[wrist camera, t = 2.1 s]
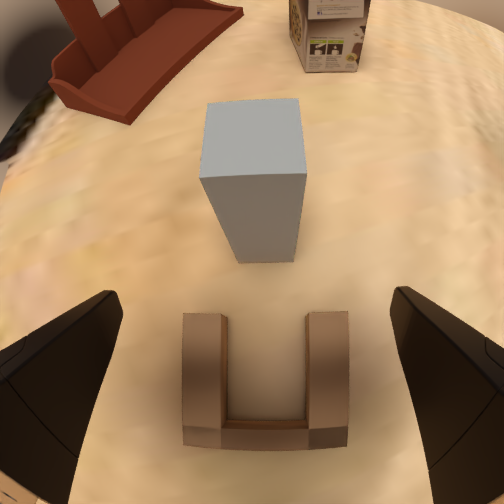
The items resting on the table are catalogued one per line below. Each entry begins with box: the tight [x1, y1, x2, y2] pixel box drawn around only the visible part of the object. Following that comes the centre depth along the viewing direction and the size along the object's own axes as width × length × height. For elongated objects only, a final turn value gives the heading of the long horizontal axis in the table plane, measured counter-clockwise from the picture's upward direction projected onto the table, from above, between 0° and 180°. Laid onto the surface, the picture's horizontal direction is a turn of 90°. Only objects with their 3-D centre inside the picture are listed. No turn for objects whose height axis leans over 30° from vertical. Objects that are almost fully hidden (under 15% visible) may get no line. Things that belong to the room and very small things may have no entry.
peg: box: [199, 99, 307, 263], centre depth 17 cm, size 4×4×12 cm
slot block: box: [182, 311, 349, 451], centre depth 19 cm, size 9×10×2 cm
